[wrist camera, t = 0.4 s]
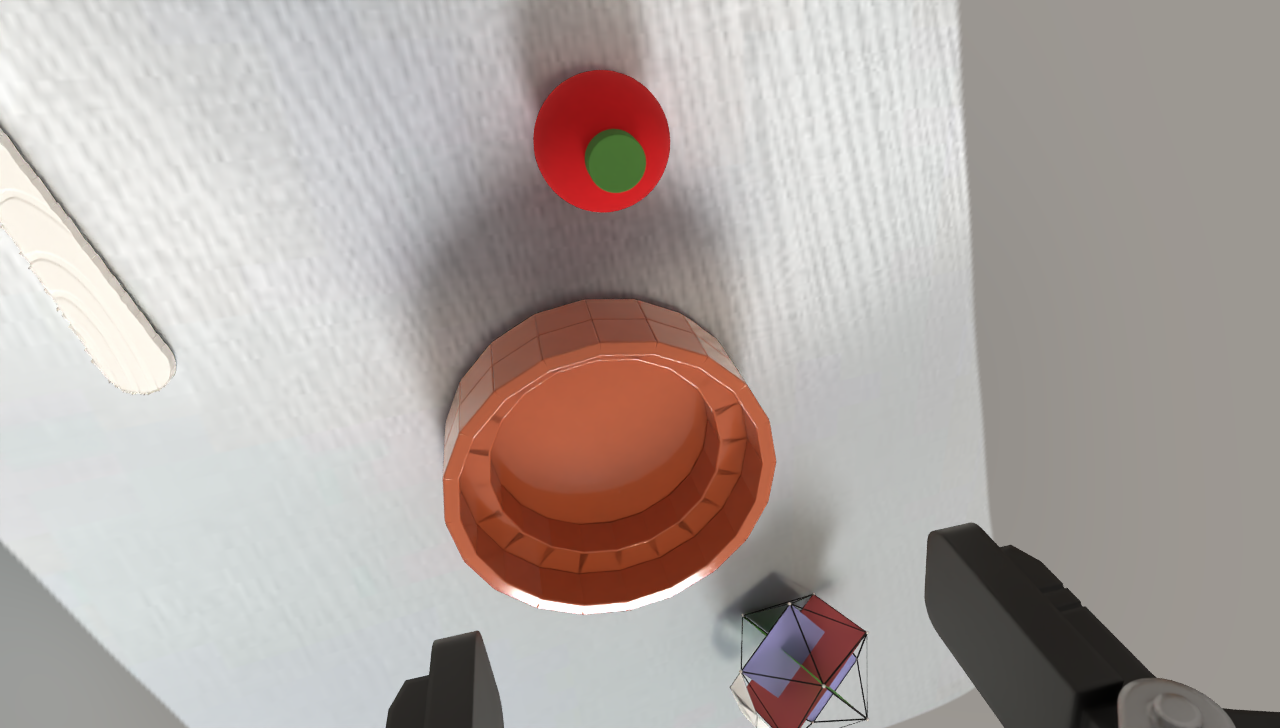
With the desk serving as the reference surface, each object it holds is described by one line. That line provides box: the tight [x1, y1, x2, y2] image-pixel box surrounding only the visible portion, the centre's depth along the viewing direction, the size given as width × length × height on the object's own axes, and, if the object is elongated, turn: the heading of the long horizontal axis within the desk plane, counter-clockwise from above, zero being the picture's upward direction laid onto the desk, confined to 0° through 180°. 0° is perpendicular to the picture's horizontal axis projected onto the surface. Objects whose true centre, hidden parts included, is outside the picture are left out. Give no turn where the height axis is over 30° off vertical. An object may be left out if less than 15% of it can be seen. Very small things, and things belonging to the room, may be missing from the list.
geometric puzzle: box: [730, 593, 869, 728], centre depth 39 cm, size 7×7×8 cm
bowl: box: [443, 299, 776, 615], centre depth 31 cm, size 13×13×4 cm
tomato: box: [533, 70, 670, 212], centre depth 25 cm, size 5×5×5 cm
